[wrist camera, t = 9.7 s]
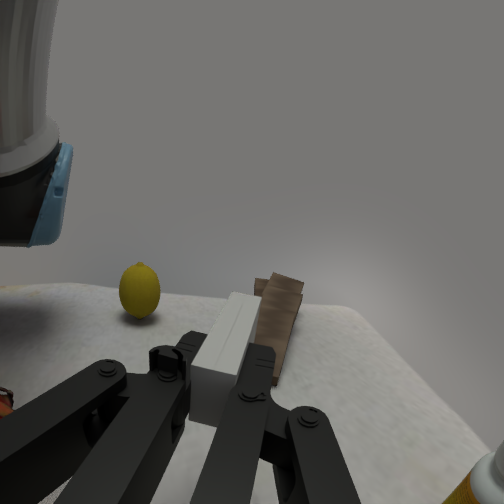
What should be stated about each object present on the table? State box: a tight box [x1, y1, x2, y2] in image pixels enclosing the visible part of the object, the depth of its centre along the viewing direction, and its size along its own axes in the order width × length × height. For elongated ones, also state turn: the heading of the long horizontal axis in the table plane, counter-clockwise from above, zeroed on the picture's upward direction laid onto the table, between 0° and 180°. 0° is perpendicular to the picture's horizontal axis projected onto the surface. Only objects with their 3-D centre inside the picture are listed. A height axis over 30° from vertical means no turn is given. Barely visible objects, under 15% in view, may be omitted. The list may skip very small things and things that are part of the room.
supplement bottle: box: [442, 441, 504, 504], centre depth 11 cm, size 5×5×10 cm
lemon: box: [119, 262, 160, 319], centre depth 40 cm, size 6×6×8 cm
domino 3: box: [260, 286, 303, 327], centre depth 40 cm, size 5×2×10 cm
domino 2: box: [261, 272, 304, 297], centre depth 45 cm, size 5×2×10 cm
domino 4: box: [254, 305, 295, 386], centre depth 35 cm, size 5×2×10 cm
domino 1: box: [254, 278, 269, 297], centre depth 51 cm, size 5×2×10 cm
